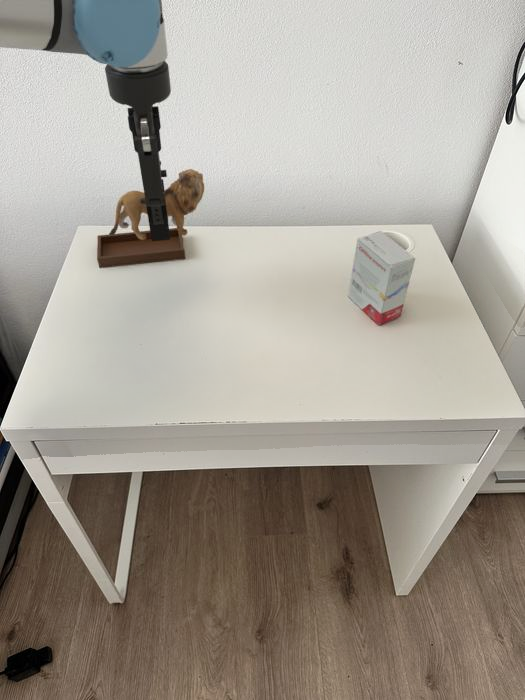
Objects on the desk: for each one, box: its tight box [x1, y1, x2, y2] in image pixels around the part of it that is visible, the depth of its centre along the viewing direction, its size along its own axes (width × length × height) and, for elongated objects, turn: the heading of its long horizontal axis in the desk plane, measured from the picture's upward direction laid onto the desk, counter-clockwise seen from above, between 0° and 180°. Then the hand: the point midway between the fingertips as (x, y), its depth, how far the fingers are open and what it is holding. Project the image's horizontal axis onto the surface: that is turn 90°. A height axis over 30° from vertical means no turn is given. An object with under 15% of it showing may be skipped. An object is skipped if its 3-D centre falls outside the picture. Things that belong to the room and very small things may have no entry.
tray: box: [96, 227, 186, 269], centre depth 97 cm, size 15×7×2 cm, turn 101°
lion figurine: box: [108, 168, 205, 240], centre depth 77 cm, size 15×5×9 cm, turn 109°
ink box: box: [347, 230, 416, 326], centre depth 84 cm, size 9×5×12 cm, turn 29°
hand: (160, 228), depth 81 cm, fingers closed on lion figurine, 4 cm apart
